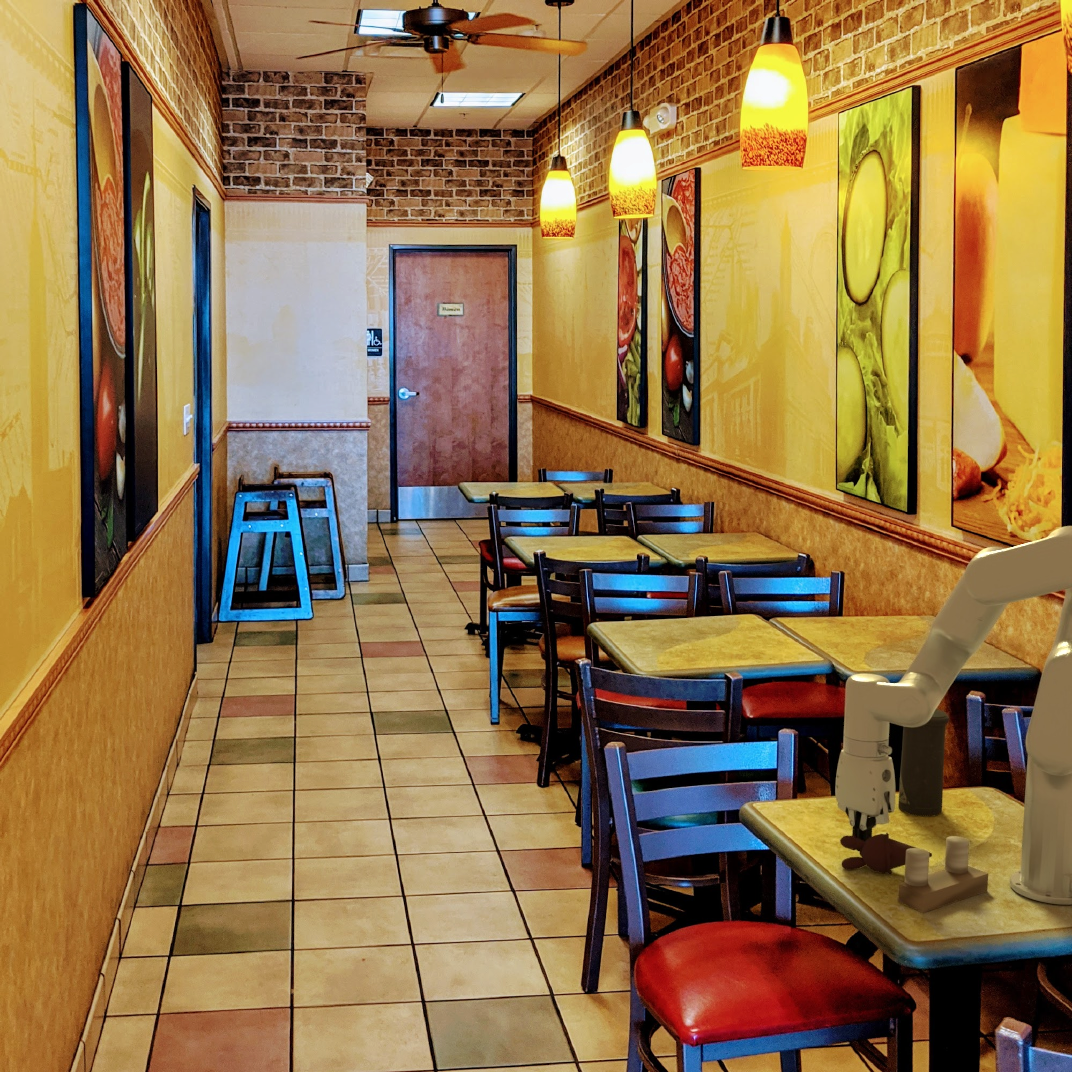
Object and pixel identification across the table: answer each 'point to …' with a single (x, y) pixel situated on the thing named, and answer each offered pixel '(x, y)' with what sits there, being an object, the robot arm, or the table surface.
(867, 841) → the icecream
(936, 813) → the container
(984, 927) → the table surface
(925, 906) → the rail
